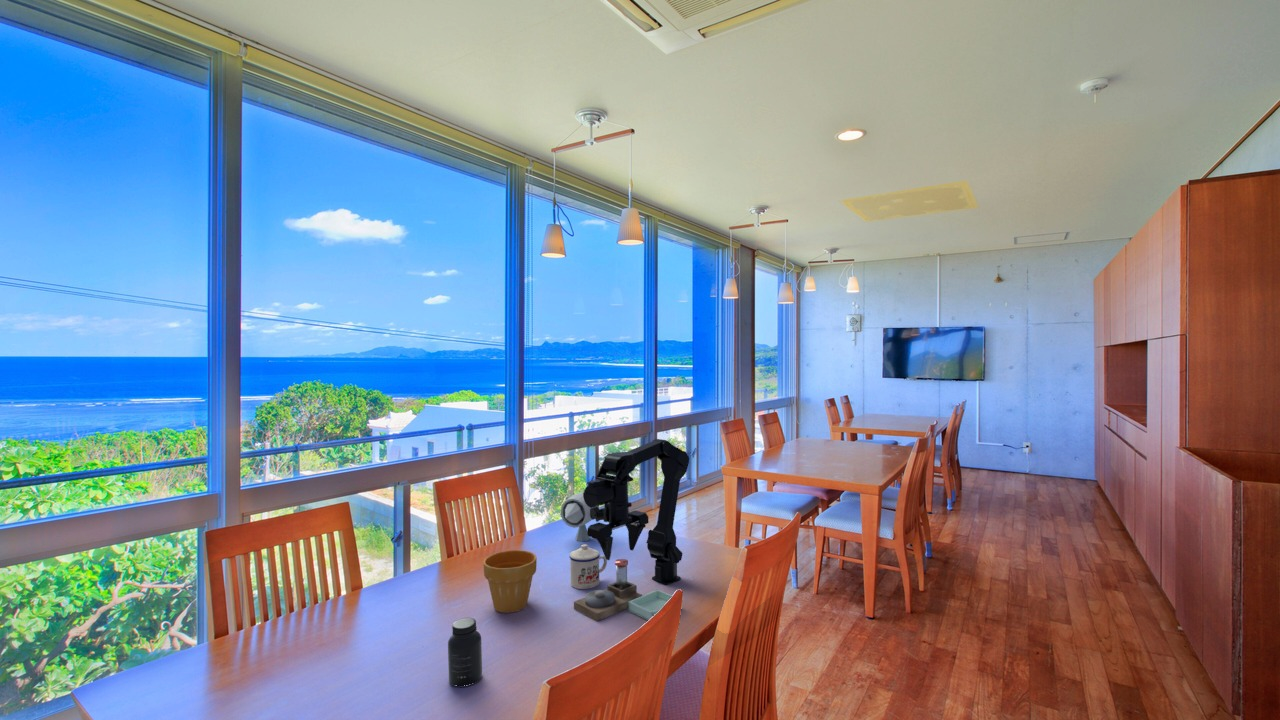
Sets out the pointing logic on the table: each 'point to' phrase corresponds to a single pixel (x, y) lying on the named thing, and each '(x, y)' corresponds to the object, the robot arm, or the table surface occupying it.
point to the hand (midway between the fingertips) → (619, 554)
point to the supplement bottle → (464, 653)
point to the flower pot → (510, 578)
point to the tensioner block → (606, 601)
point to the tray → (648, 604)
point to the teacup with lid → (585, 567)
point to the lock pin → (621, 573)
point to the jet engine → (577, 515)
